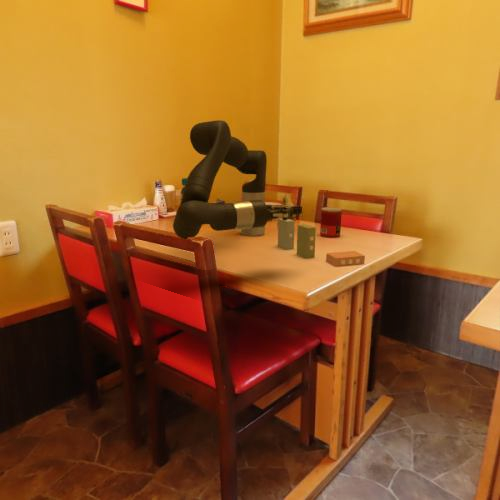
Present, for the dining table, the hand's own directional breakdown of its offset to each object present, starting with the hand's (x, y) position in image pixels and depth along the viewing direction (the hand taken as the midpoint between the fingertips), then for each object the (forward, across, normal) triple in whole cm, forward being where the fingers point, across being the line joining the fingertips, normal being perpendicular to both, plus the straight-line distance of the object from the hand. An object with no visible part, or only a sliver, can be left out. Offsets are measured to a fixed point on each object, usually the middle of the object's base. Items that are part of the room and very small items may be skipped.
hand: (300, 209), depth 119 cm
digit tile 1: (+10, +23, +18) cm, 31 cm away
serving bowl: (+30, +79, +19) cm, 86 cm away
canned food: (+36, +31, +18) cm, 50 cm away
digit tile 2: (+10, +10, +18) cm, 23 cm away
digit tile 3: (+11, -1, +17) cm, 20 cm away
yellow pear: (+28, +50, +18) cm, 60 cm away
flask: (+9, +84, +19) cm, 86 cm away
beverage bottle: (-4, +88, +18) cm, 90 cm away
